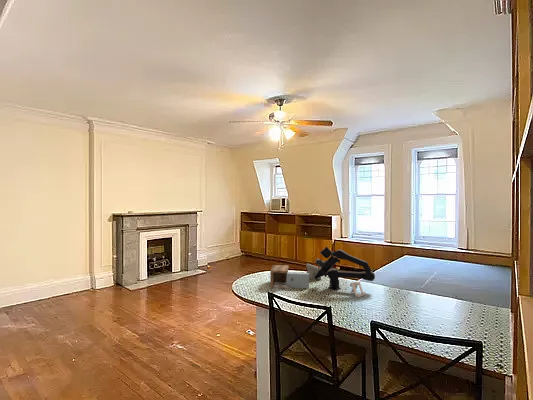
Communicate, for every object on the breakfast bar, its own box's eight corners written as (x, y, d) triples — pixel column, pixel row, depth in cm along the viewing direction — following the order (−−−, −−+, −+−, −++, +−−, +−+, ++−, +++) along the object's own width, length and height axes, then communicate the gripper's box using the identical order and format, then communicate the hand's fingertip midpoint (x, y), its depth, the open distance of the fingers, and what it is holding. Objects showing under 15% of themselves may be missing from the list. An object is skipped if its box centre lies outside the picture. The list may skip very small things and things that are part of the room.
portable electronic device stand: (358, 298, 207) (358, 285, 206) (348, 295, 213) (348, 282, 213) (365, 295, 212) (365, 283, 212) (355, 292, 218) (355, 280, 218)
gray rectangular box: (308, 286, 232) (308, 273, 232) (308, 288, 227) (308, 274, 227) (286, 285, 234) (287, 272, 234) (286, 287, 229) (286, 273, 229)
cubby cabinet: (290, 281, 245) (290, 265, 245) (289, 288, 227) (289, 270, 227) (273, 280, 247) (273, 264, 247) (270, 287, 229) (270, 270, 229)
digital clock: (322, 280, 249) (322, 267, 249) (311, 281, 247) (311, 267, 247) (314, 275, 265) (314, 262, 264) (304, 276, 263) (304, 263, 263)
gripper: (321, 252, 238) (306, 267, 239) (322, 257, 219) (306, 273, 221) (332, 263, 237) (317, 277, 238) (334, 269, 218) (318, 284, 220)
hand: (314, 278), depth 229 cm, fingers closed
